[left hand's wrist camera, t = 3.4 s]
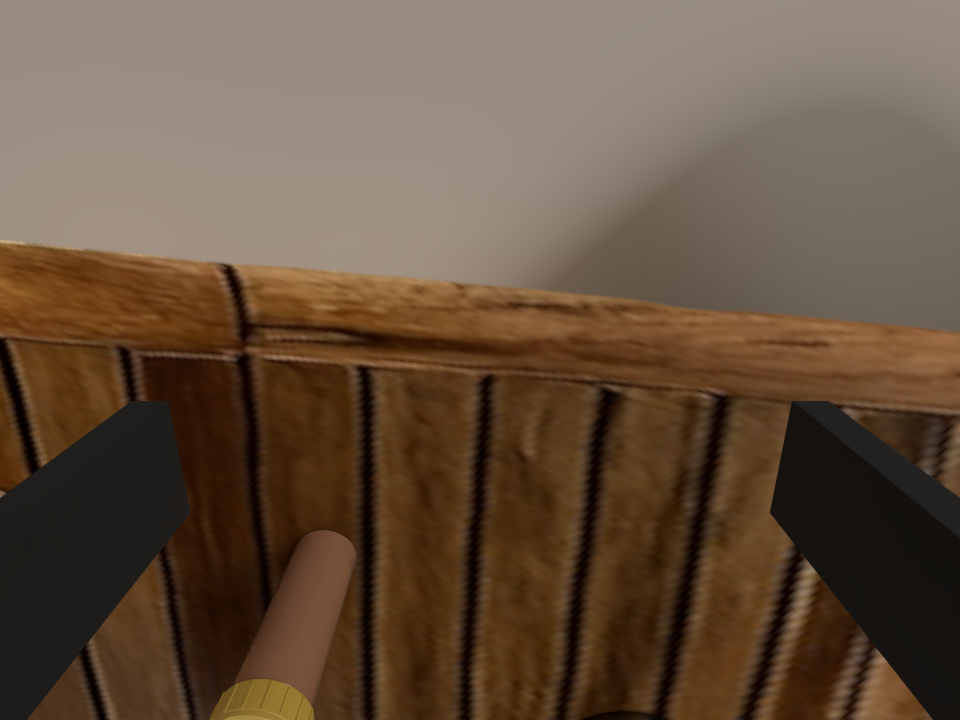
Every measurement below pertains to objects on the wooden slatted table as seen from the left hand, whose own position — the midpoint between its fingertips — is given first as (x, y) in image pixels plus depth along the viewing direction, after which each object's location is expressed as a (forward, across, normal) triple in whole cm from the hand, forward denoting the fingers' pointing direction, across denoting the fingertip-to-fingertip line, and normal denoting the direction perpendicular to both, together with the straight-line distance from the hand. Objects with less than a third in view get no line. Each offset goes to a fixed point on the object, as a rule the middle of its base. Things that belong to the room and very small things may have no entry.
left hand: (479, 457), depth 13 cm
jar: (+28, +12, +25) cm, 39 cm away
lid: (+12, +12, +25) cm, 30 cm away
